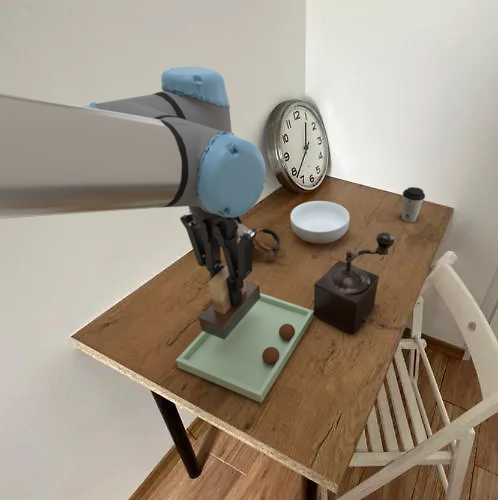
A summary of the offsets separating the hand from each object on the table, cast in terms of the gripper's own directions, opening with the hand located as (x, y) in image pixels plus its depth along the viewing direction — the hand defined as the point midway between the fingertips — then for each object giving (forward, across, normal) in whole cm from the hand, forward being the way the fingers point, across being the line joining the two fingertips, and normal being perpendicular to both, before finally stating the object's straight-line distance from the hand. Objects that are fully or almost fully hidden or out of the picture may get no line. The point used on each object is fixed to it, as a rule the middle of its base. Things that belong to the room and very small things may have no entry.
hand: (230, 298), depth 66 cm
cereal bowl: (+10, 0, -41) cm, 42 cm away
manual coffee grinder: (+10, -19, -18) cm, 28 cm away
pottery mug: (+10, +10, -25) cm, 29 cm away
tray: (+10, -4, 0) cm, 11 cm away
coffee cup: (+10, -22, -63) cm, 68 cm away
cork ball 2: (+8, -10, -3) cm, 13 cm away
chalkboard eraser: (+4, 0, 0) cm, 4 cm away
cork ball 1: (+8, -10, +3) cm, 13 cm away
